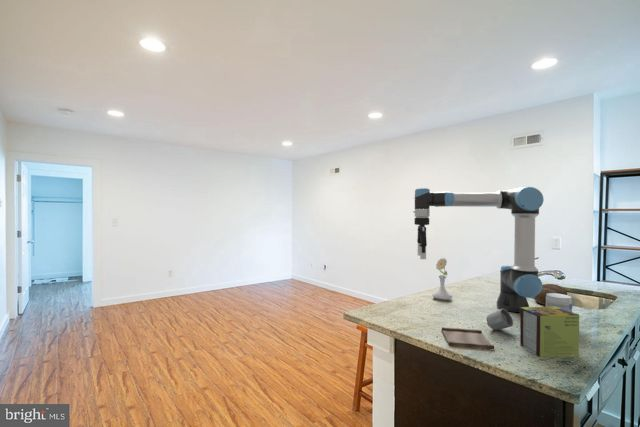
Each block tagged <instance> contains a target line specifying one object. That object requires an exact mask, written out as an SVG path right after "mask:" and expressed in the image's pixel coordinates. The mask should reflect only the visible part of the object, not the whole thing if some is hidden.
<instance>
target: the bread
mask: <svg viewBox="0 0 640 427" xmlns="http://www.w3.org/2000/svg"><path fill="white" fill-rule="evenodd" d="M547 293H557V294H564V295H568V291H567V289H566V288H565V287H563V286H561V285H559V284H553V283H542V290H541V292H540V293H539V294H538V295H536V296H534V297H532V298H533V299H534V301H535V302H537V303H538V304H541V305H543V306H544V305H545V306H546V294H547Z"/></svg>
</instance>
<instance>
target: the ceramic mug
mask: <svg viewBox="0 0 640 427" xmlns="http://www.w3.org/2000/svg"><path fill="white" fill-rule="evenodd" d="M486 325H487V326H488V327H489V328H491V329H492V330H493V331H500V330H505V329H508V328H511V327H513V326H514V319H513V318H512V316H511V314H510V311H507V310H505V309H500V308H499V309H498V310H495V311H494V312H491V313H489V314H488V315H487V316H486Z"/></svg>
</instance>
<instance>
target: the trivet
mask: <svg viewBox="0 0 640 427" xmlns="http://www.w3.org/2000/svg"><path fill="white" fill-rule="evenodd" d="M441 333H442V334H443V336H444V338H445V341H446V343H447V344H448V346H449V347H456V348H457V347H459V348H467V349H468V348H469V349H478V348H481V349H480V350H490V349H494V350H495V345H494V344H491V342H490V340H488V339H487V337H486V336H485V334H484V333H483V330H482V329H472V328H459V327H445V326H443V327H441Z"/></svg>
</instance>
